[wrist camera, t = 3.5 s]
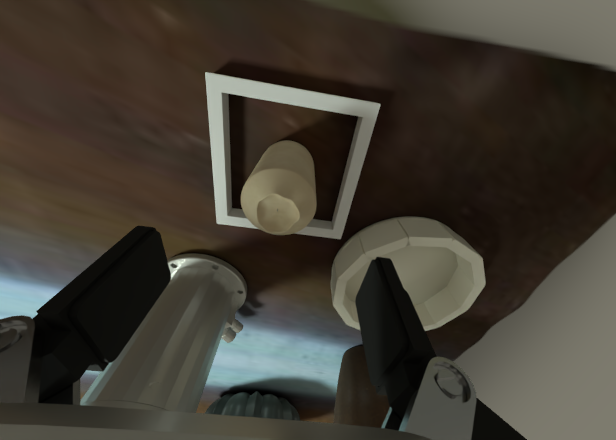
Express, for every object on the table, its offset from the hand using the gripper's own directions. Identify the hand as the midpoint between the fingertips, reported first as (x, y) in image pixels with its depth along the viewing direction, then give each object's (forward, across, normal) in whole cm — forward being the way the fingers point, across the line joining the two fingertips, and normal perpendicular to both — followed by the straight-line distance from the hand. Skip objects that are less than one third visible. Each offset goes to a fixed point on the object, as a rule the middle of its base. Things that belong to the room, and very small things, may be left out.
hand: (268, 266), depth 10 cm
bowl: (+15, -16, +13) cm, 26 cm away
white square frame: (+15, 0, +1) cm, 15 cm away
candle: (+16, 0, +1) cm, 16 cm away
